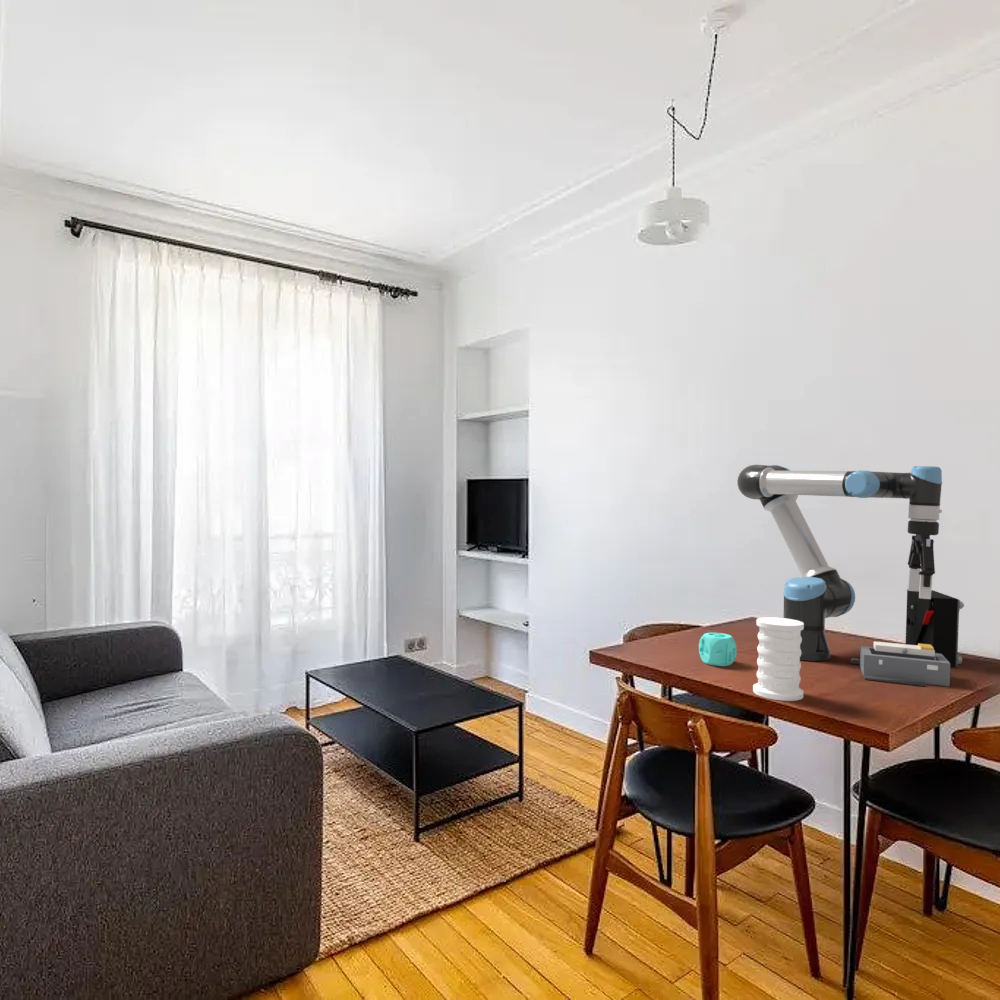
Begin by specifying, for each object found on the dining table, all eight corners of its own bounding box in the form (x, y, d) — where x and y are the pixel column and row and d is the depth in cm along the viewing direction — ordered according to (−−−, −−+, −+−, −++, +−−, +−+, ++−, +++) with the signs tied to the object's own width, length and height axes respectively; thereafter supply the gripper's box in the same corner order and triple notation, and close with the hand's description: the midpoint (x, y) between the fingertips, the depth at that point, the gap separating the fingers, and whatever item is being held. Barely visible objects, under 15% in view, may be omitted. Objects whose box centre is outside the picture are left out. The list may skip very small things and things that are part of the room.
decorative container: (767, 684, 179) (769, 615, 179) (811, 695, 170) (814, 622, 170) (744, 692, 171) (746, 620, 171) (789, 704, 163) (791, 628, 162)
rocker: (875, 651, 190) (875, 643, 190) (873, 646, 195) (873, 638, 195) (935, 657, 184) (935, 648, 184) (930, 652, 190) (931, 644, 190)
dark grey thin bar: (864, 679, 185) (864, 676, 185) (864, 678, 186) (864, 675, 186) (925, 686, 180) (925, 683, 180) (924, 685, 180) (924, 682, 180)
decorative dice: (710, 666, 196) (711, 638, 196) (698, 659, 204) (698, 632, 204) (736, 666, 197) (737, 638, 197) (723, 659, 205) (724, 632, 205)
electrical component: (964, 668, 200) (966, 599, 199) (925, 665, 202) (927, 597, 201) (938, 654, 217) (940, 590, 217) (902, 651, 219) (904, 589, 219)
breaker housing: (863, 676, 188) (864, 654, 188) (859, 666, 199) (860, 645, 199) (949, 686, 180) (950, 663, 180) (940, 675, 191) (941, 653, 191)
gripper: (951, 523, 183) (946, 603, 184) (927, 518, 207) (923, 589, 208) (918, 522, 186) (914, 600, 187) (899, 517, 209) (895, 587, 210)
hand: (919, 594), depth 197 cm, fingers open, 13 cm apart
